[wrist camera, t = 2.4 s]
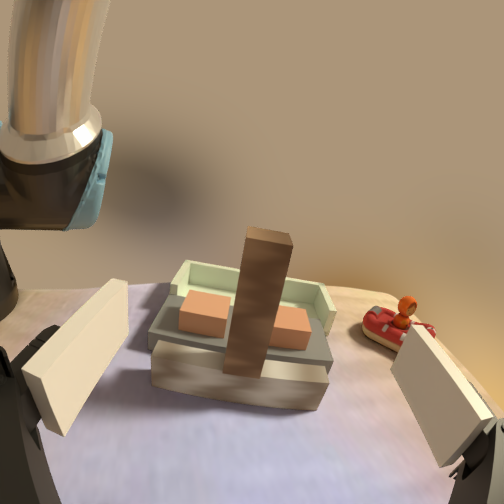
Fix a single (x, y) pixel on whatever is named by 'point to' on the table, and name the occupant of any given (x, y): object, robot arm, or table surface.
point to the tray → (225, 284)
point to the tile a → (204, 313)
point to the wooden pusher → (246, 342)
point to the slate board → (168, 331)
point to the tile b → (291, 328)
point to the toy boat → (392, 324)
